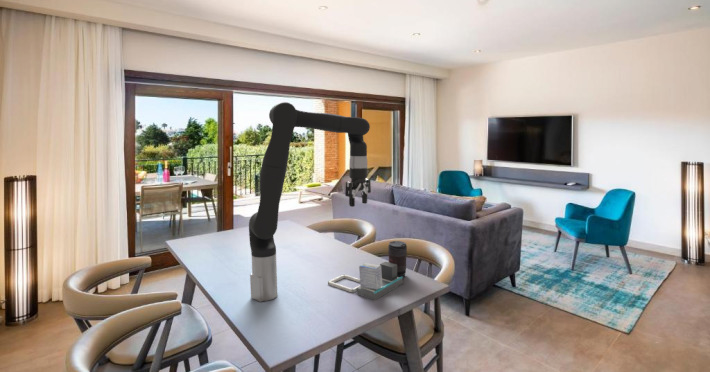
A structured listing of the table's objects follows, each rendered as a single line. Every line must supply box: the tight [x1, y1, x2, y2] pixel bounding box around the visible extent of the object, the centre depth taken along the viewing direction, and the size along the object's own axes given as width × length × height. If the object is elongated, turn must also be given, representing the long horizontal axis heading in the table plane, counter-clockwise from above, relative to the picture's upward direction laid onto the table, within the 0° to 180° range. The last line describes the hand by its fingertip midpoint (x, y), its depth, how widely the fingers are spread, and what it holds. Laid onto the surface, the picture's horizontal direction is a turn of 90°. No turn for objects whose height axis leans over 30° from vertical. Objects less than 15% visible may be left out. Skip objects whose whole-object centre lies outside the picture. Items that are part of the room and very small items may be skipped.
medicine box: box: [358, 262, 382, 290], centre depth 144 cm, size 8×4×9 cm, turn 56°
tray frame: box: [327, 274, 360, 294], centre depth 154 cm, size 11×14×1 cm
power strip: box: [356, 261, 404, 301], centre depth 149 cm, size 20×9×9 cm, turn 141°
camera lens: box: [387, 240, 408, 278], centre depth 162 cm, size 8×8×15 cm
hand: (358, 204), depth 155 cm, fingers open, 8 cm apart
